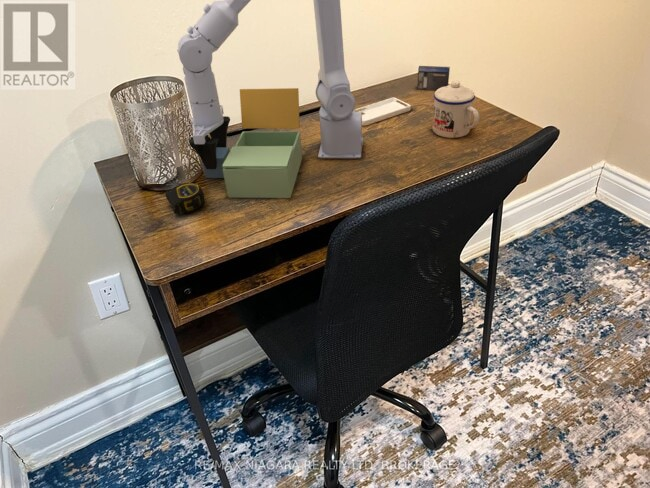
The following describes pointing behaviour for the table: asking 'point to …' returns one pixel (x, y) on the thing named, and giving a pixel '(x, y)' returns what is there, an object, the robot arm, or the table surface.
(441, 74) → the mini dv tape
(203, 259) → the table surface
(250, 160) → the green open box
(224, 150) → the cube
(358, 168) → the table surface
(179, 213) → the tape measure
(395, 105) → the phone case
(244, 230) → the table surface
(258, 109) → the lid
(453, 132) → the teacup with lid
